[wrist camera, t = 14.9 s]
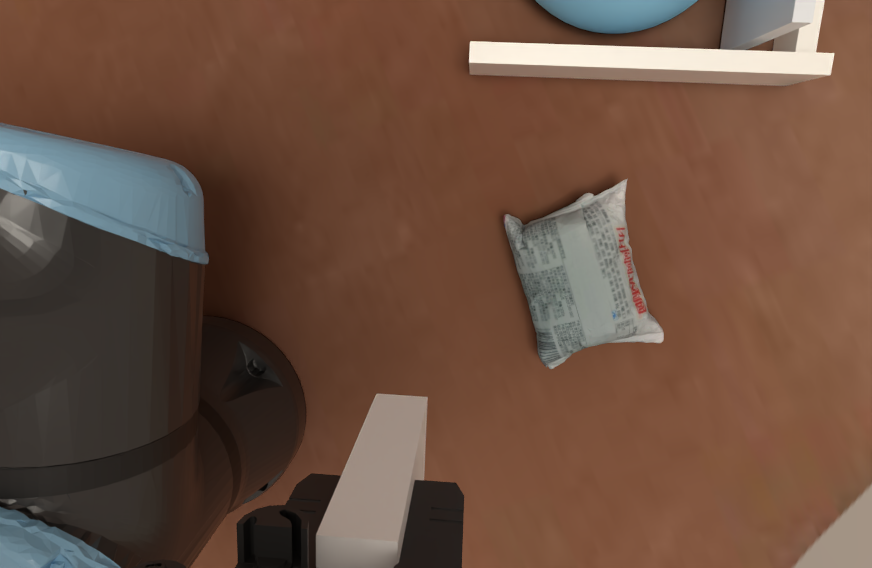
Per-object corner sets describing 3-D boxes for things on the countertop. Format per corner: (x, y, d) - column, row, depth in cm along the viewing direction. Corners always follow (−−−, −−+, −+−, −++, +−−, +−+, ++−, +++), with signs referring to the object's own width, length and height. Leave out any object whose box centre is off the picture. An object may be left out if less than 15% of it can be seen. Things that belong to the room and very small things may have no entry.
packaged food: (618, 178, 41) (636, 180, 36) (656, 334, 43) (678, 356, 38) (498, 213, 42) (500, 220, 37) (540, 363, 44) (547, 388, 39)
